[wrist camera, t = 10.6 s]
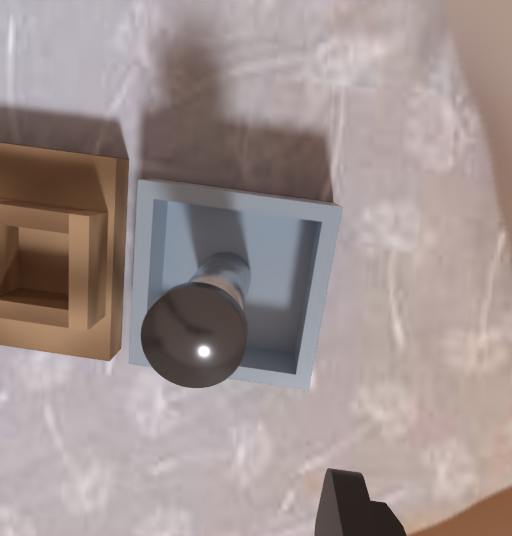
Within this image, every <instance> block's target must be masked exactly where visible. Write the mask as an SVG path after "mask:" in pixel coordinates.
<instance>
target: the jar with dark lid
mask: <svg viewBox="0 0 512 536" xmlns="http://www.w3.org/2000/svg"><path fill="white" fill-rule="evenodd" d="M250 284H251V272H250V269H249V266H248V265H247V263H246V262H245V261H244V260H243V259H242V258H241V257H239V256H238V255H236V254H233V253H229V252H220V253H216V254H214V255H212V256H210V257H209V258H208V259H207V260H206V261H205V262H204V263H203V265H202V266H201V267H200V268H199V269H198V270H197V272H196V273H195V274H194V275H193V276H192V278H191V279H190V280H189V281H188V282H187V283H183V284H180V285H177V286H175V287H173V288H171V289H170V290H168V291H167V292H165V293H164V294H163V295H162V296H161V297H160V298H159V299H158V300H157V301H156V302H155V303H154V304H153V305H152V307H151V308H150V309H149V310H148V312H147V314H146V315H145V318H144V320H143V323H142V327H141V345H142V349H143V352H144V354H145V356H146V358H147V360H148V362H149V363H150V365H151V366H152V367H153V369H154V370H155V371H156V372H157V373H158V374H160V375H161V376H162V377H164V378H165V379H167V380H168V381H170V382H172V383H175V384H177V385H180V386H184V387H189V388H204V387H210V386H213V385H216V384H218V383H221V382H222V381H224V380H226V379H227V378H228V377H230V376H231V375H232V374H233V373H234V372H235V371H236V369H237V368H238V367H239V365H240V363H241V361H242V359H243V356H244V352H245V347H246V342H247V337H248V325H247V320H246V317H245V314H244V312H243V311H244V307H245V303H246V300H247V296H248V292H249V288H250Z"/></svg>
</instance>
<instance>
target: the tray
mask: <svg viewBox="0 0 512 536" xmlns="http://www.w3.org/2000/svg"><path fill="white" fill-rule="evenodd" d="M342 208H343V207H342V206H340V205H338V204H336V203H334V202H326V201H319V200H311V199H304V198H296V197H289V196H282V195H274V194H267V193H259V192H252V191H245V190H237V189H230V188H222V187H215V186H207V185H200V184H193V183H185V182H178V181H170V180H163V179H138V185H137V205H136V226H135V247H134V267H133V288H132V309H131V329H130V350H129V364H134V365H141V366H147V367H152V366H151V365H150V363H149V362H148V360H147V358H146V356H145V354H144V352H143V349H142V345H141V327H142V323H143V320H144V318H145V315H146V314H147V312H148V310H149V309H150V308H151V307H152V305H153V304H154V303H155V302H156V301H157V300H158V299H159V298H160V297H161V296H162V295H163V294H164V293H165V292H167V291H168V290H170V289H171V288H173V287H175V286H177V285H180V284H183V283H187V282H188V281H189V280H190V279H191V278H192V276H193V275H194V274H195V273H196V272H197V270H198V269H199V268H200V267H201V266H202V265H203V263H204V262H205V261H206V260H207V259H208V258H209V257H210V256H212V255H214V254H216V253H220V252H229V253H233V254H236V255H238V256H239V257H241V258H242V259H243V260H244V261H245V262H246V263H247V265H248V266H249V269H250V272H251V284H250V288H249V292H248V296H247V300H246V303H245V307H244V311H243V312H244V314H245V317H246V320H247V325H248V337H247V342H246V347H245V352H244V356H243V359H242V361H241V363H240V365H239V367H238V368H237V369H236V371H235V372H234V373H233V374H232V375H231V376H230V377H228V379H235V380H241V381H248V382H255V383H261V384H268V385H275V386H282V387H288V388H295V389H302V390H308V391H309V386H310V380H311V375H312V370H313V364H314V359H315V353H316V348H317V343H318V337H319V332H320V326H321V321H322V316H323V310H324V305H325V299H326V294H327V289H328V283H329V278H330V272H331V267H332V262H333V256H334V251H335V245H336V240H337V235H338V229H339V224H340V218H341V213H342Z"/></svg>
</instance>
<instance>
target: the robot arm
mask: <svg viewBox="0 0 512 536" xmlns="http://www.w3.org/2000/svg"><path fill="white" fill-rule="evenodd" d="M315 536H406V533H405V530H404V527H403V525H402V524H401V523H400V521H399V520H398V519H397V517H396V516H395V515H394V513H393V512H392V511H391V509H390V508H389V507H388V505H387V504H386V503H383V502H376V501H370V498H369V494H368V491H367V487H366V484H365V480H364V477H363V475H362V474H361V473H359V472H352V471H345V470H337V469H330V468H328V469H327V471H326V474H325V479H324V483H323V488H322V493H321V498H320V503H319V508H318V512H317V517H316V524H315Z"/></svg>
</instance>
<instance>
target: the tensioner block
mask: <svg viewBox="0 0 512 536" xmlns="http://www.w3.org/2000/svg"><path fill="white" fill-rule="evenodd" d="M128 171H129V160H128V159H120V158H113V157H106V156H98V155H91V154H83V153H76V152H68V151H61V150H53V149H46V148H38V147H31V146H23V145H16V144H8V143H1V142H0V345H4V346H11V347H17V348H24V349H31V350H37V351H44V352H51V353H58V354H64V355H71V356H78V357H84V358H91V359H98V360H105V361H110V360H111V359H112V358H113V357H114V356H115V355H116V354H117V352H118V351H119V350H120V349H121V337H122V313H123V290H124V266H125V242H126V218H127V195H128Z"/></svg>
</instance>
